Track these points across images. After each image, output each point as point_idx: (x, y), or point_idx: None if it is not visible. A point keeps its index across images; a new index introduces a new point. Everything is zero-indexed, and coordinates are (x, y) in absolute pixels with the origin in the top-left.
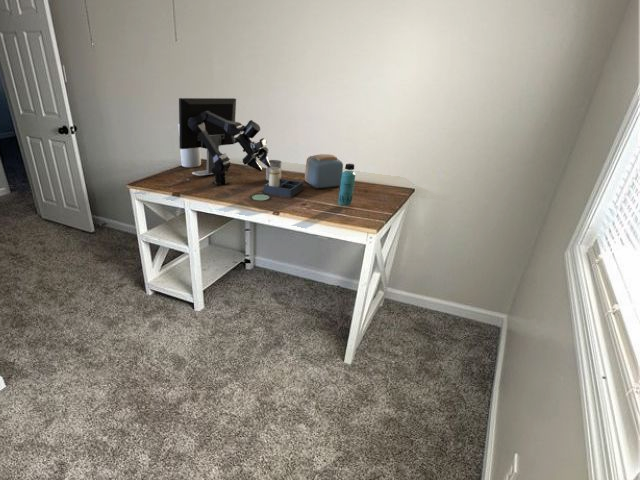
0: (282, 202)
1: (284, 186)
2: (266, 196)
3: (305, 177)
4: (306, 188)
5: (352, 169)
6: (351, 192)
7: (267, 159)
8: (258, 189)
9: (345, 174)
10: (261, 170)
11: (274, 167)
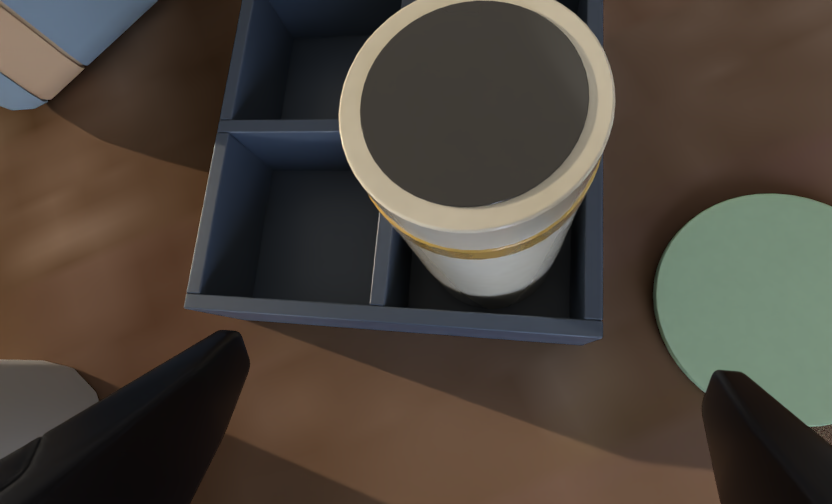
0: (765, 27)
1: None
2: (706, 250)
3: (23, 72)
4: (227, 27)
5: None
6: None
7: (44, 458)
8: (455, 477)
9: None
10: (738, 380)
11: (359, 156)
